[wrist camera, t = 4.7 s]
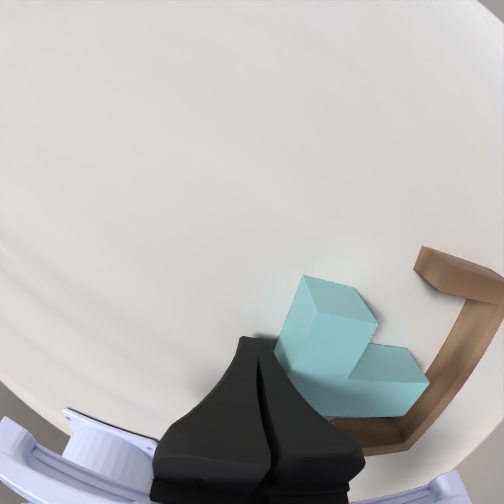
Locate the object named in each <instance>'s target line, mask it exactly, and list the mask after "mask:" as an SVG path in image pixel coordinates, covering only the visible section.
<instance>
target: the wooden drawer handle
mask: <svg viewBox="0 0 504 504" xmlns="http://www.w3.org/2000/svg"><path fill="white" fill-rule="evenodd" d="M414 270H415V271H416V272H417V273H419V274H420V275H421V276H422V277H423V278H425V279H426V280H427V281H428V282H429V283H431V284H432V285H433V286H434V287H435V288H436V289H438V290H439V291H440V292H441V293H445V294H450V295H455V296H459V297H464V298H467V300H466V303H465V305H464V307H463V309H462V311H461V313H460V315H459V317H458V319H457V321H456V323H455V325H454V327H453V329H452V330H451V332H450V334H449V336H448V338H447V340H446V341H445V343H444V345H443V347H442V348H441V350H440V352H439V353H438V355H437V357H436V358H435V360H434V361H433V363H432V365H431V366H430V368H429V369H428V371H427V372H426V374H425V376H426V378H427V379H428V381H429V382H430V383H429V385H428V386H427V387H426V389H425V390H424V391H423V393H422V394H421V395H420V397H419V398H418V399H417V400H416V402H415V403H414V404H413V405H412V407H411V408H410V409H409V410H408V411H407V413H406V414H405V415H404V416H394V418H384V419H361V420H333V421H332V422H331V424H332V425H334V426H335V427H336V428H338V429H339V430H341V431H342V432H344V433H345V434H347V435H349V436H350V437H352V438H354V439H355V440H357V441H359V444H360V446H361V449H362V451H363V455H364V456H373V455H381V454H388V453H395V452H401V451H407V450H408V449H409V448H410V447H411V446H412V445H413V444H414V443H415V442H416V441H417V440H418V439H419V438H420V437H421V436H422V435H423V434H424V433H425V432H426V431H427V429H428V428H429V427H430V426H431V425H432V424H433V423H434V422H435V420H436V419H437V418H438V417H439V416H440V414H441V413H442V412H443V411H444V410H445V408H446V407H447V406H448V405H449V403H450V402H451V401H452V400H453V398H454V397H455V396H456V394H457V393H458V392H459V390H460V389H461V387H462V386H463V385H464V383H465V382H466V380H467V379H468V378H469V376H470V375H471V373H472V372H473V370H474V369H475V367H476V366H477V364H478V362H479V361H480V359H481V358H482V356H483V354H484V353H485V351H486V349H487V348H488V346H489V344H490V343H491V341H492V339H493V337H494V335H495V334H496V332H497V330H498V328H499V326H500V324H501V322H502V320H503V318H504V278H503V277H502V276H500V275H499V274H497V273H496V272H494V271H493V270H491V269H488V268H486V267H483V266H480V265H477V264H475V263H472V262H469V261H466V260H463V259H460V258H458V257H455V256H452V255H449V254H446V253H443V252H440V251H437V250H434V249H431V248H428V247H425V246H422V248H421V251H420V253H419V256H418V259H417V261H416V264H415V267H414Z"/></svg>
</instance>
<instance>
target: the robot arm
mask: <svg viewBox="0 0 504 504" xmlns="http://www.w3.org/2000/svg"><path fill="white" fill-rule="evenodd" d="M62 412H63V415H64V417H65V420H66V422H67V424H68V427H69V429H70V431H71V433H72V436H71V438H70V440H69V442H68V445H67V446H66V448H65V451H64V453H63V455H62V456H60V455H58V454H56V453H54V452H52V451H50V450H48V449H46V448H45V447H43V446H41V445H39V444H38V443H36V441H35V439H34V437H33V436H32V435H31V434H30V433H29V432H28V431H27V430H26V429H25V428H23V427H21V426H20V425H18V424H17V423H15V422H13V421H12V420H11V419H9V418H8V417H4V418H3V419H2V421H1V422H0V480H1V481H2V482H3V483H4V484H6V485H7V486H8V487H10V488H11V489H13V490H14V491H15V492H17V493H18V494H20V495H22V496H23V497H24V498H26V499H27V500H29V501H30V502H28V503H21V504H33V503H34V504H472V503H471V500H470V498H469V496H468V493H467V491H466V489H465V486H464V484H463V482H462V480H461V478H460V475H459V473H458V471H457V470H456V469H455V470H452V471H449V472H447V473H444V474H441V475H439V476H438V477H436V478H435V479H433V480H432V481H431V482H430V483H429V484H427V485H424V486H421V487H418V488H415V489H411V490H408V491H404V492H400V493H396V494H392V495H388V496H384V497H379V498H374V499H369V500H363V501H358V502H351V503H349V501H348V497H347V492H348V491H349V490H350V487H349V483H348V482H349V481H351V480H352V479H353V478H354V477H355V476H356V475H357V474H359V473H360V471H361V470H362V469H363V468H364V466H365V463H366V462H365V459H364V455H363V451H362V449H361V446H360V444H359V441H357V440H355V439H354V438H352V437H350V436H349V435H347V434H345V433H344V432H342V431H341V430H339V429H338V428H336V427H335V426H334V425H332V424H331V423H330V422H328V421H327V420H326V419H325V418H324V417H322V416H321V415H320V414H319V413H318V412H317V411H316V410H315V409H314V408H313V407H312V406H311V405H310V404H309V403H308V402H307V401H306V400H305V399H304V398H303V397H302V395H301V394H300V393H299V392H298V391H297V389H296V388H295V387H294V385H293V384H292V382H291V381H290V379H289V378H288V376H287V375H286V373H285V371H284V370H283V368H282V366H281V365H280V363H279V361H278V359H277V357H276V356H275V354H274V352H273V350H272V348H271V346H270V343H269V342H268V340H263V339H257V338H251V337H246V336H242V337H240V339H239V343H238V347H237V351H236V354H235V356H234V358H233V360H232V362H231V364H230V366H229V367H228V369H227V371H226V372H225V374H224V375H223V377H222V378H221V380H220V381H219V382H218V383H217V385H216V386H215V387H214V388H213V390H212V391H211V392H210V393H209V394H208V395H207V396H206V397H205V398H204V399H203V400H202V401H201V402H200V403H199V404H198V405H197V406H196V407H194V408H193V409H192V410H191V411H190V412H189V413H187V414H186V415H185V416H183V417H182V418H180V419H179V420H177V421H176V422H175V423H173V424H172V425H171V426H170V427H169V429H168V430H167V431H166V433H165V434H164V435H163V437H162V438H161V440H160V441H159V443H158V444H157V442H156V441H154V440H152V439H148V438H145V437H141V436H138V435H135V434H132V433H128V432H125V431H122V430H120V429H117V428H114V427H111V426H108V425H106V424H103V423H100V422H98V421H95V420H93V419H90V418H88V417H86V416H83V415H81V414H79V413H76V412H74V411H72V410H70V409H67V408H64V409H63V411H62ZM149 483H151V484H152V486H151V490H147V488H148V484H149ZM31 502H32V503H31Z"/></svg>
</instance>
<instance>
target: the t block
mask: <svg viewBox="0 0 504 504" xmlns="http://www.w3.org/2000/svg"><path fill="white" fill-rule="evenodd" d="M378 325H379V324H378V322H377V321H376V319H375V318H374V316H373V315H372V313H371V312H370V310H369V309H368V307H367V306H366V304H365V303H364V301H363V300H362V299H361V297H360V296H359V294H358V293H357V291H356V290H355V289H354V288H352V287H348V286H344V285H340V284H336V283H332V282H328V281H324V280H320V279H316V278H312V277H308V276H304V275H303V277H302V280H301V283H300V285H299V288H298V291H297V293H296V296H295V298H294V301H293V304H292V306H291V309H290V311H289V314H288V316H287V319H286V321H285V324H284V326H283V329H282V331H281V334H280V336H279V339H278V341H277V343H276V346H275V348H274V351H273V352H274V354H275V356H276V357H277V359H278V361H279V363H280V365H281V366H282V368H283V370H284V371H285V373H286V375H287V376H288V378H289V379H290V381H291V382H292V384H293V385H294V387H295V388H296V389H297V391H298V392H299V393H300V394H301V395H302V397H303V398H304V399H305V400H306V401H307V402H308V403H309V404H310V405H311V406H312V407H313V408H314V409H315V410H316V411H317V412H318V413H319V414H320V415H321V416H339V417H394V416H404V415H405V414H406V413H407V411H408V410H409V409H410V408H411V407H412V405H413V404H414V403H415V402H416V400H417V399H418V398H419V397H420V395H421V394H422V393H423V391H424V390H425V389H426V387H427V386H428V385H429V383H430V382H429V381H428V379H427V378H426V376H425V374H424V373H423V371H422V370H421V368H420V367H419V365H418V364H417V362H416V361H415V359H414V358H413V356H412V355H411V353H410V352H409V351H408V349H407V348H400V347H393V346H385V345H378V344H371V343H369V341H370V339H371V338H372V336H373V334H374V332H375V330H376V328H377V327H378Z"/></svg>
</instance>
